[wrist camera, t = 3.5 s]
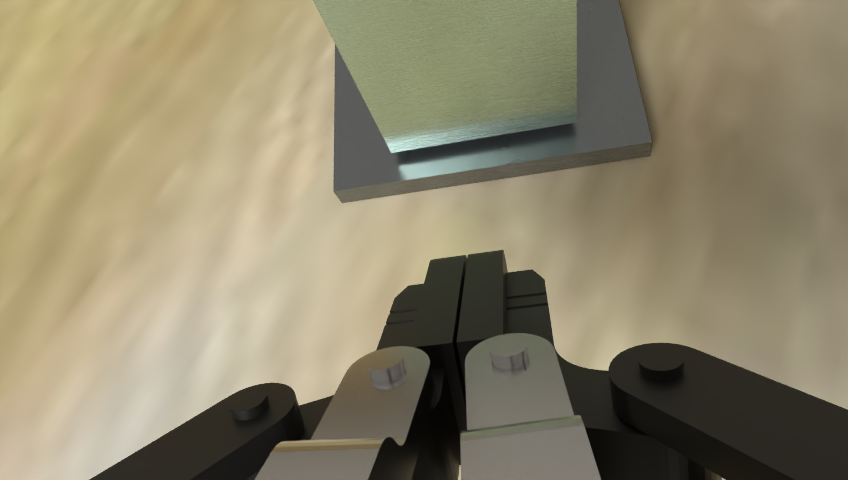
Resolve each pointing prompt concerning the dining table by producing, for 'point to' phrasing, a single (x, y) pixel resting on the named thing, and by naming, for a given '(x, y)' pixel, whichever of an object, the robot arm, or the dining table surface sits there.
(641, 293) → the dining table surface
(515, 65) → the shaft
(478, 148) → the bearing block
